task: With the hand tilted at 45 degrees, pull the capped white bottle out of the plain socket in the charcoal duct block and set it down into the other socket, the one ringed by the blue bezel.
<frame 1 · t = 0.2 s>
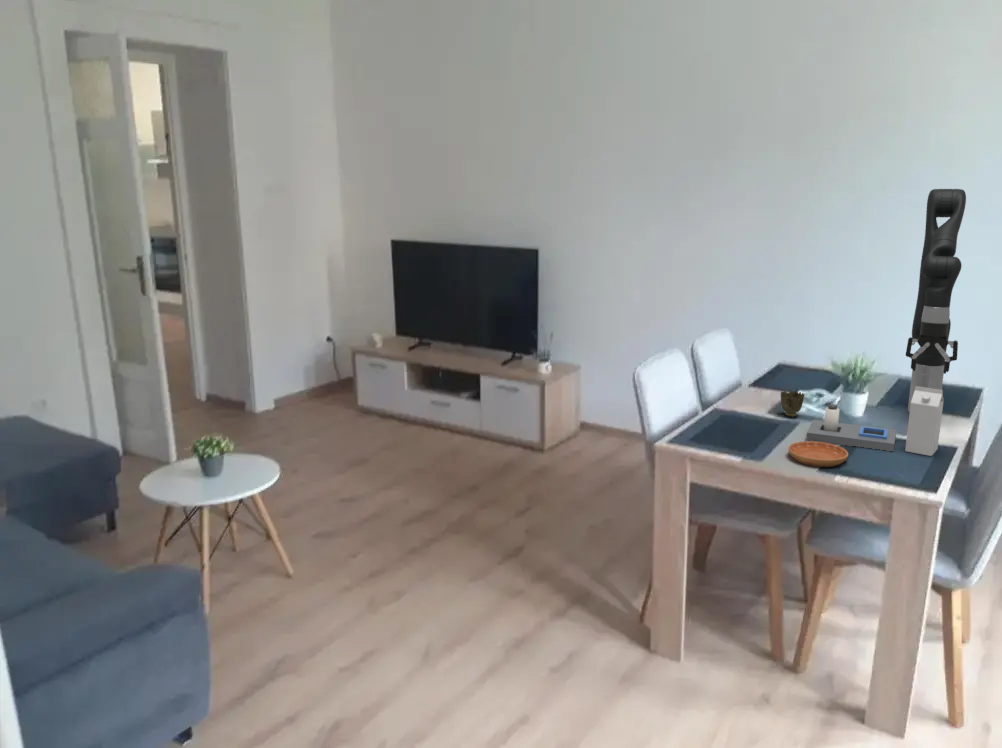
hand: (929, 371, 249), 17 cm above the table, tool pointing down, fingers open, 8 cm apart
duct block: (851, 438, 242), on the table
cup: (790, 416, 265), on the table
saucer: (817, 460, 227), on the table
capped white bottle: (829, 436, 245), resting in duct block
milk carton: (921, 451, 231), on the table
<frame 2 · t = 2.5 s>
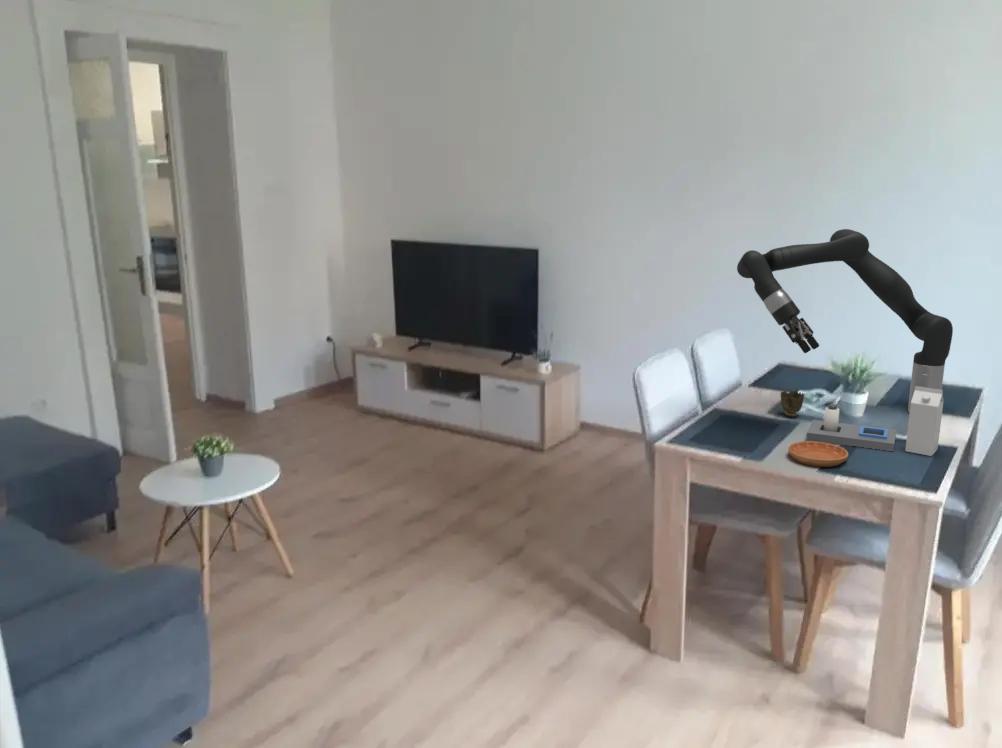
hand: (812, 349, 242), 27 cm above the table, tool tilted 40°, fingers open, 8 cm apart
nothing on the table moved.
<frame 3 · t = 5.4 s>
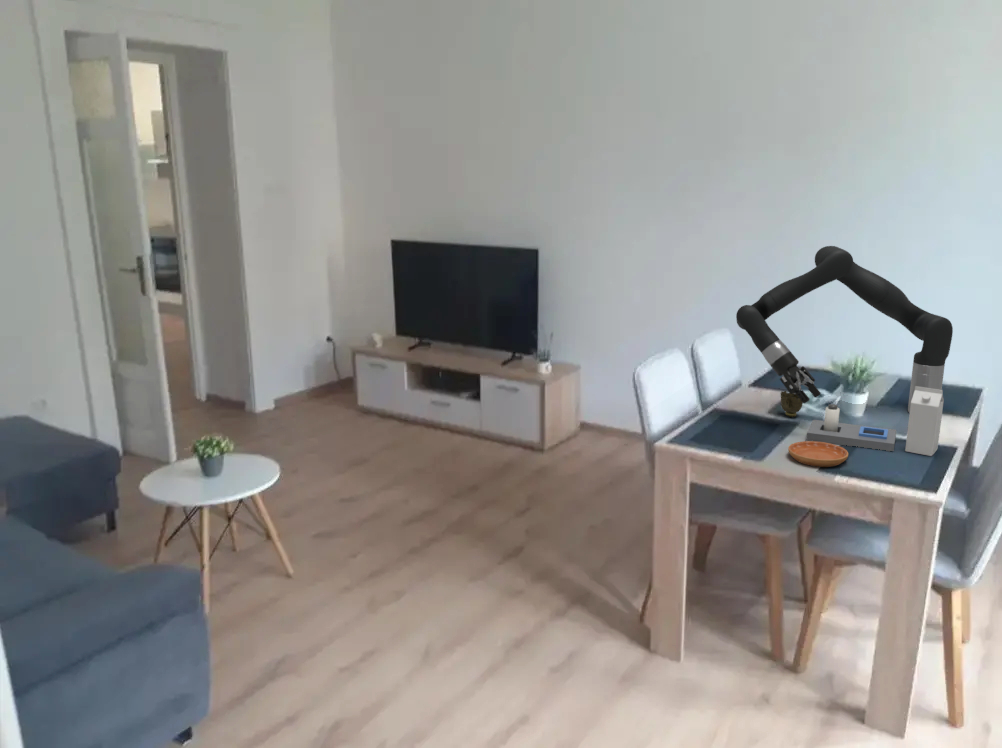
hand: (812, 398, 246), 11 cm above the table, tool tilted 45°, fingers open, 8 cm apart
nothing on the table moved.
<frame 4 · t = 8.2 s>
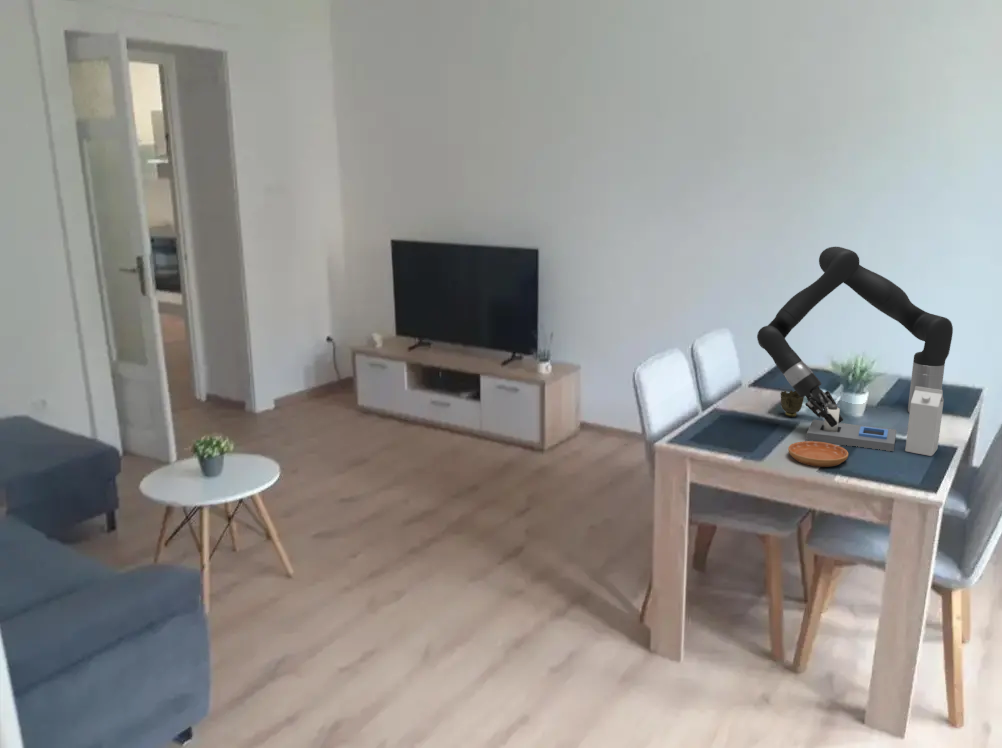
hand: (837, 423, 242), 5 cm above the table, tool tilted 45°, fingers closed on capped white bottle, 4 cm apart
capped white bottle: (830, 436, 245), resting in duct block, touching gripper
everything else where it was.
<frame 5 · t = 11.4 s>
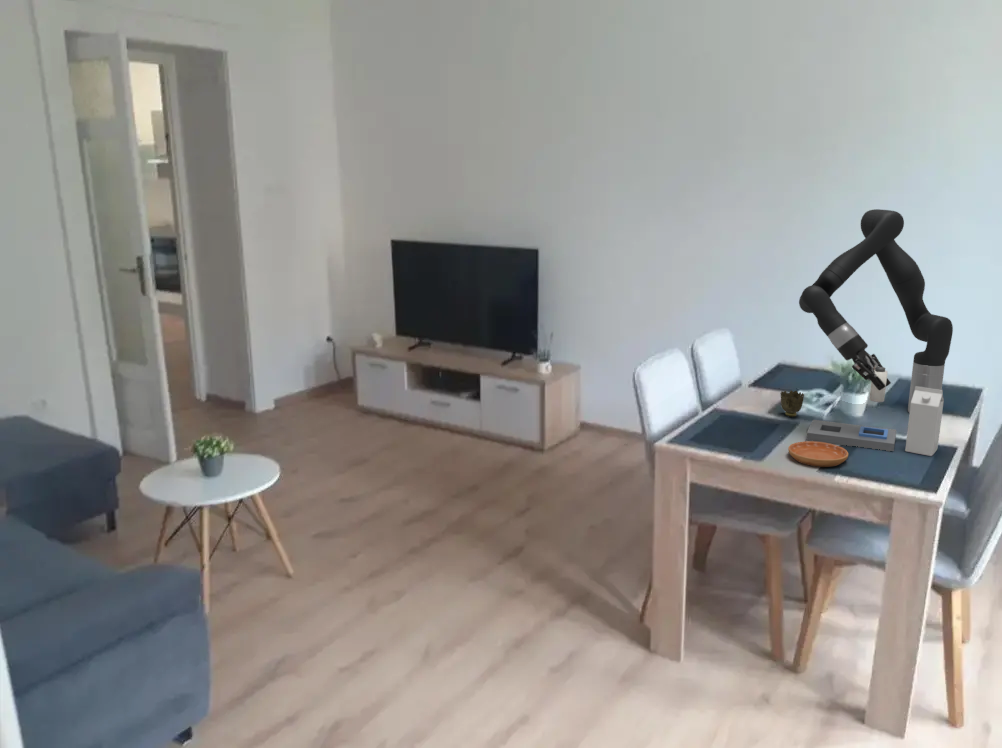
hand: (885, 386, 233), 18 cm above the table, tool tilted 45°, fingers closed on capped white bottle, 4 cm apart
capped white bottle: (876, 400, 236), point 13 cm above the table, touching gripper
everything else where it was.
when the fingers open (6 cm above the table, at t = 14.7 s): capped white bottle drops 1 cm, resting in duct block.
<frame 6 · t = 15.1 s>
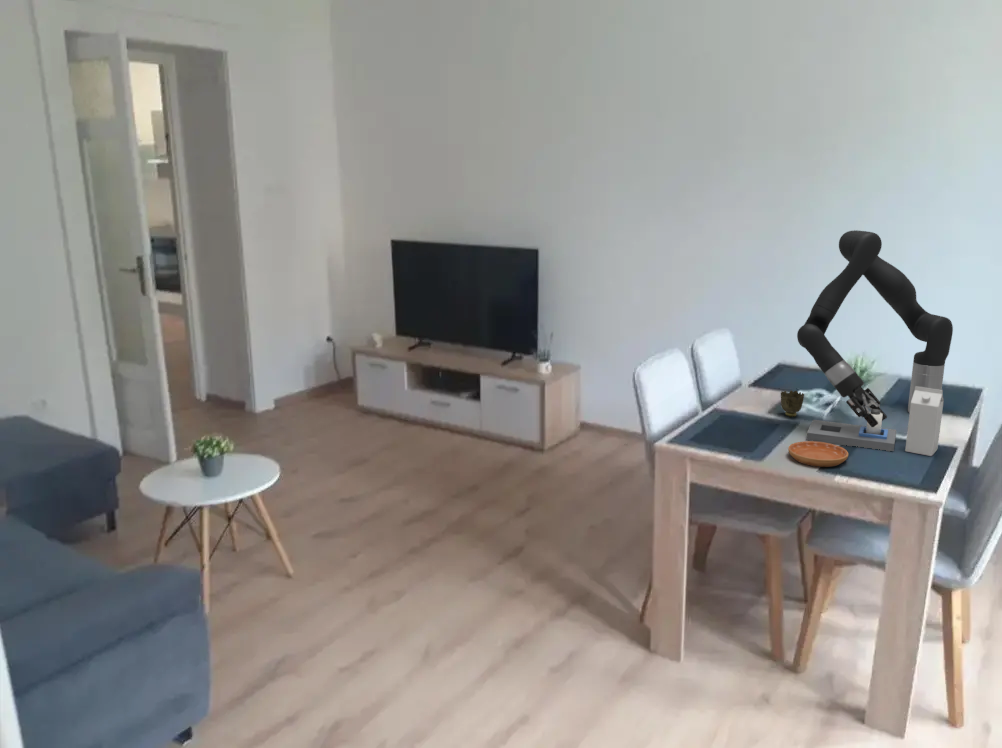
hand: (880, 422, 237), 6 cm above the table, tool tilted 45°, fingers open, 7 cm apart
capped white bottle: (872, 441, 239), resting in duct block
everything else where it was.
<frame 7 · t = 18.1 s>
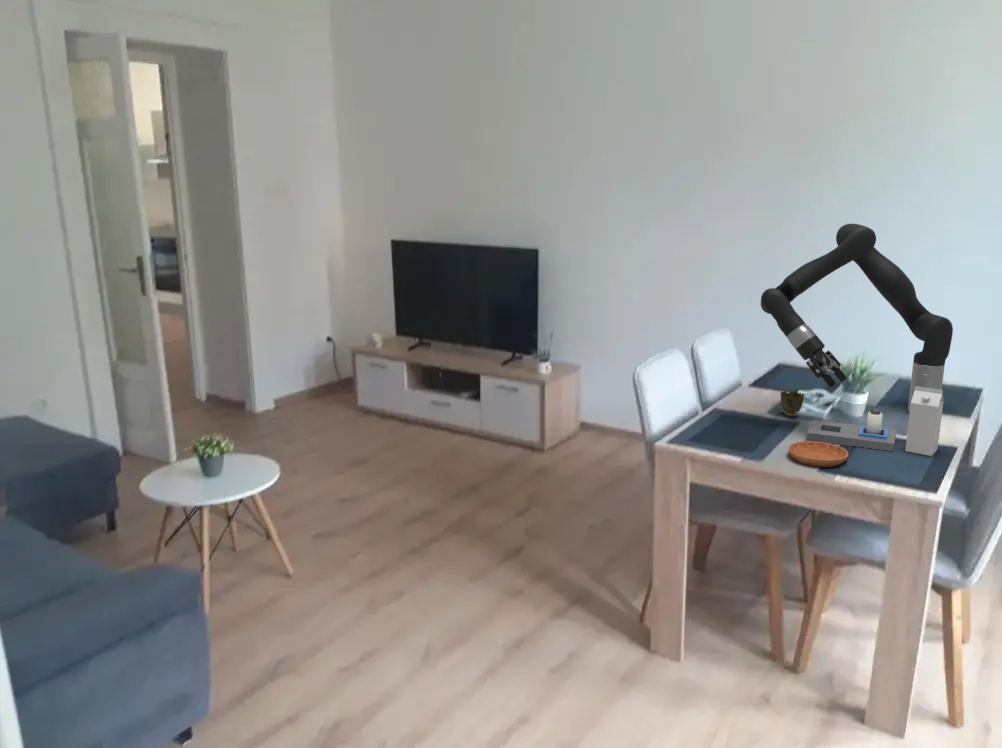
hand: (839, 383, 243), 16 cm above the table, tool tilted 45°, fingers open, 8 cm apart
nothing on the table moved.
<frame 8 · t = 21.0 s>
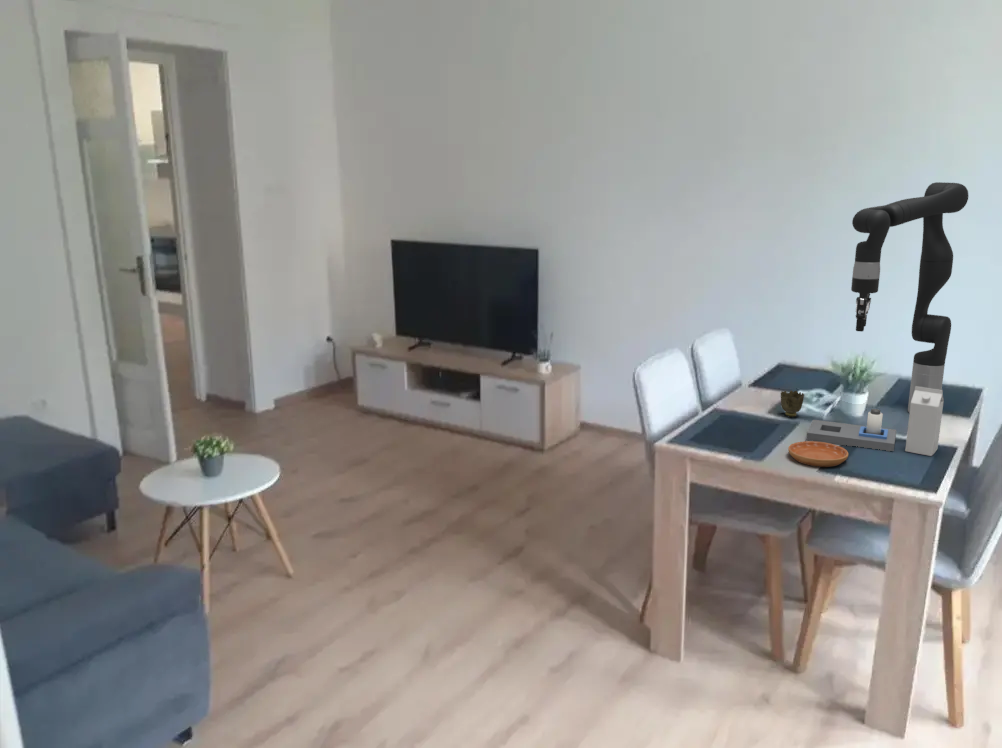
hand: (860, 328, 244), 32 cm above the table, tool pointing down, fingers open, 8 cm apart
nothing on the table moved.
at the end: capped white bottle 0.1 cm from the target spot on the duct block, point 0.0 cm above the duct block's base; capped white bottle tilted 0°; the gripper is holding nothing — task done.
